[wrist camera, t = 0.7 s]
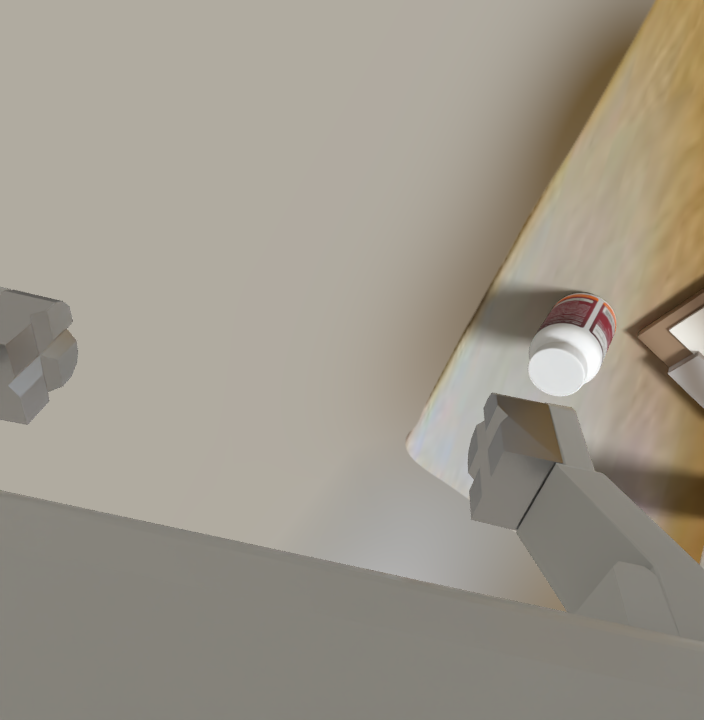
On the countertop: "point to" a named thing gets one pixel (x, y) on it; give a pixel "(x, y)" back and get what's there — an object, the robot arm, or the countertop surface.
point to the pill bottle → (571, 344)
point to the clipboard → (681, 344)
